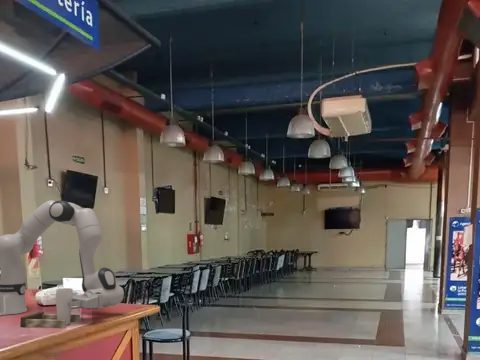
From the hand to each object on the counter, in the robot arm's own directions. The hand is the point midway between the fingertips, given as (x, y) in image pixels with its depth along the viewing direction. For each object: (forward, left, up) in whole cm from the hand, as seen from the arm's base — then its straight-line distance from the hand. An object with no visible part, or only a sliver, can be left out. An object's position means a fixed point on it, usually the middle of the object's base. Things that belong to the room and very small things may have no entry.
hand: (63, 303), depth 196 cm
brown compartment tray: (-6, 0, -9) cm, 11 cm away
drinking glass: (0, 0, -9) cm, 9 cm away
